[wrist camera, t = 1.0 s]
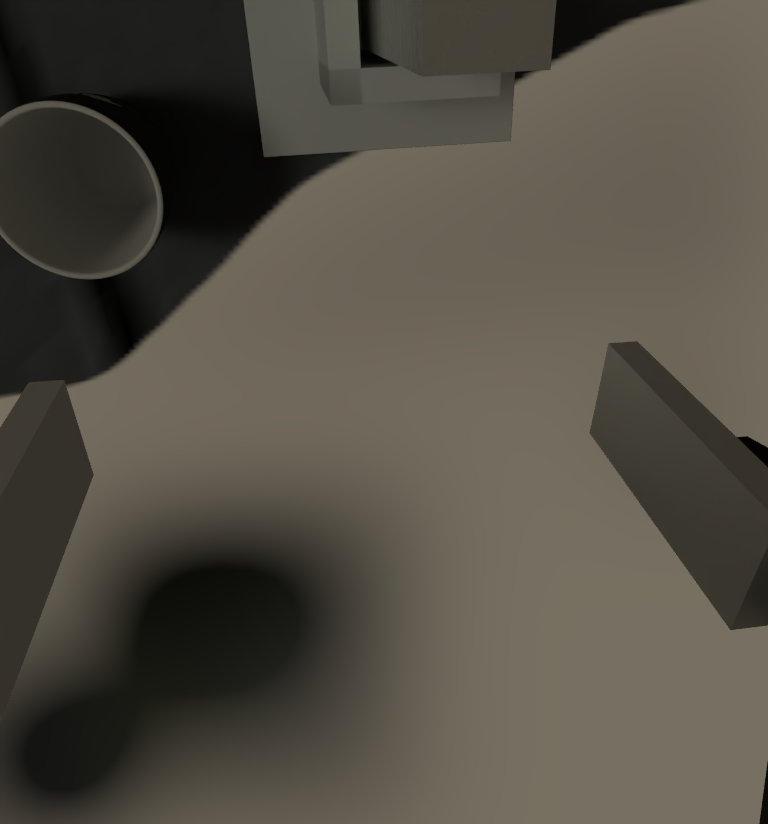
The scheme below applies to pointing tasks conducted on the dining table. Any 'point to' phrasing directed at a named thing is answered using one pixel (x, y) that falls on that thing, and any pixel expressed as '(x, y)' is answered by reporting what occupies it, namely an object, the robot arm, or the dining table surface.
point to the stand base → (358, 88)
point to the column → (459, 34)
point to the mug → (82, 184)
